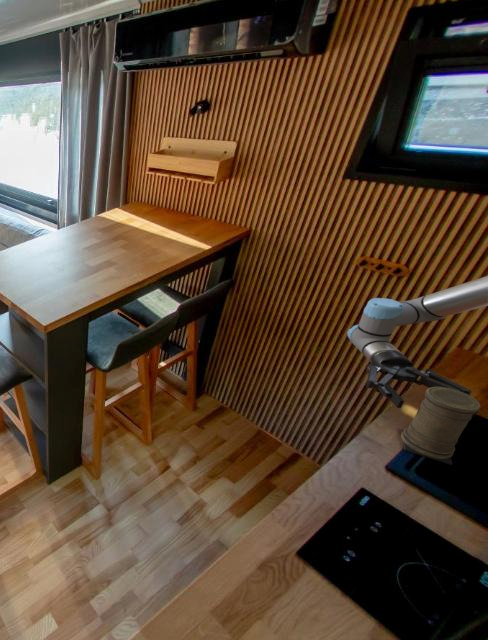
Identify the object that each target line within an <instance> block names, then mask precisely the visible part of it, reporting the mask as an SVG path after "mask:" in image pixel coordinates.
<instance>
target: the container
mask: <svg viewBox="0 0 488 640" xmlns="http://www.w3.org/2000/svg"><path fill="white" fill-rule="evenodd" d="M480 410H481V404H480V402H479V401H478V400H477V399H476V398H475V397H473V396H472V395H471V396H470V395H467V394H465V393H463V392H460V391H457V390H454V389H450V388H445V387H431V388H429V387H428V388H427V389H426V390H425V395H424V399H422V401H421V404H420V406H419V408H418V409H417V412H416V413H415V415H414V416H413V419H412V420H411V421H410V422H409V425H408V426H407V427H405V429H404V431H403V432H402V434H400V438H401V440H402V443H403V442H404V443H405V444H406V445H407V446H408V447H410V448H411V449H413V450H415V451H416V452H418V453H421V454H423V455H425V456H428V457H431V458H435V459H448V458H450V457H451V458H452V457H453V456H454V453H455V451H456V444H458V442H459V438H460V437H461V435H462V433H463V431H464V430H465V429H466V427H467V425H468V423H469V421H471V420H472V418H473V417H471V416H472V415H473V414H474V413H475V412H476V411H478V412H479V411H480Z"/></svg>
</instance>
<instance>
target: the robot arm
mask: <svg viewBox="0 0 488 640" xmlns="http://www.w3.org/2000/svg"><path fill="white" fill-rule="evenodd" d="M485 307H488V275H486V276H483V277H479V278H477V279H473V280H469V281H467V282H464V283H461V284H459V285H458V284H457V285H455V286H451V287H448V288H446V289H442V290H439V291H436V292H433V293H430V294H426V295H423V296H419V297H417V298H413V299H409V300H405V301H398V300H395V299H391V298H386V297H382V298H380V297H374V298H371V299H369V301H367V304H366V306H365V307H364V308H363V312H362V314H361V318H360V320H359V324H355V325H353V326H351V328H349V329H348V330H347V333H346V335H347V338H348V339H349V340H350V342H351V344H352V345H353V346H354V347H356V349H358V350H359V352H360V353H361V354H363V356H364V357H365V358H366V359H367V360H368V361H369V362H370V363H368V365H367V367H366V369H365V370H366V372H367V374H368V375H367V380H366V385H365V386H366V387H367V388H368V389H373V388H374V389H375V390H374V391H375V392H376V393H381V394H382V396H383V397H385V398H387V399H389V401H390V402H391V403H392V404H393V405H394V406H395V407H396V408H397V409H402V407H403V405H404V403H405V400H404V399H403V397H402V396H400V394H398V392H397V391H396V390H395V389H394V388H393V387H392V385H390V383H392V382H393V381H394V380H396V381H398V382H408V383H414V384H416V385H419V386H425V387H426V388H428V389H429V388H431V387H445V388H450V389H454V390H457V391H460V392H463V393H465V394H467V395H469V396H470V395H471V394H472V393H473V391H472V390H470V389H469V388H467V387H465V386H463V385H461V384H459V383H458V382H455V381H453V380H450V379H449V378H447V377H445V376H442V375H440V374H438V373H437V372H436V371H435V370H433V369H431V368H426V369H425V370H420V369H417V368H416V367H415V366H414V365H413V363H412V360H410V359H409V358H408V357H407V356H406V355H405V354H403V352H401V351H400V350H399V349H398V348H397V347H396V346H395V345H394V344H393V343H391V341H390V339H391V336H392V335H393V333H394V331H395V328H396V327H401V326H407V325H408V326H409V325H413V324H420V323H426V322H427V323H429V322H430V323H431V322H436V321H439V320H443V319H446V318H447V317H449V316H450V317H451V316H453V315H457V314H461V313H465V312H469V311H473V310H476V309H481V308H485ZM378 373H381V374H382V375H384V377H382V378H381V379H380V380H379V381H378V382H377V381H376V378H377V374H378ZM419 377H420V378H419ZM478 412H479V410H478V411H476V412H475V413H474V414H473V415H472V416H471V417H472V418H475V416H476V415H477V413H478Z"/></svg>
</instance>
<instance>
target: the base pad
mask: <svg viewBox="0 0 488 640" xmlns="http://www.w3.org/2000/svg"><path fill="white" fill-rule="evenodd" d="M404 430H405V429H404ZM404 430H403V429H401V430H400V432H401V434H402V432H403V431H404ZM401 434H400V435H401ZM402 444H403V445H402V446H403V450H404V451H405V452H409V453H411V454H415V455H418V456H422V457H424V458H428V459H430V460H434V461H437V462H440V463H443V464H446V465H450V466H452V465H453V460H452V457H450V458H448V459H435V458H431V457H428V456H425V455H423V454H421V453H418V452H416V451H415V450H413V449H411V448H410V447H408V446H407V445H406V444H405V443H404V442H403V441H402Z"/></svg>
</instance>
